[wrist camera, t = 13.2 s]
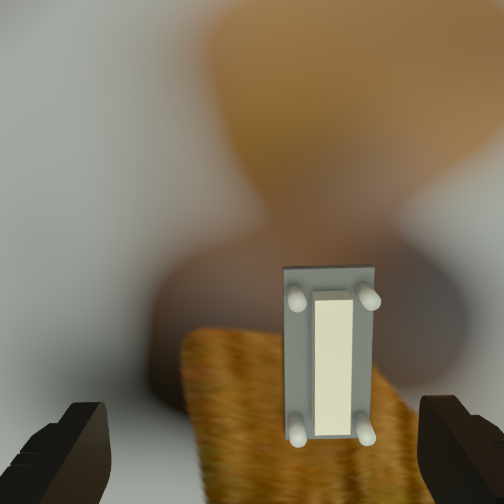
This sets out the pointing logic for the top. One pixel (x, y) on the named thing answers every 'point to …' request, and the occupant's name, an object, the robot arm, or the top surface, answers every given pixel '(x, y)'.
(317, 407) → the clay strip
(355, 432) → the grey pegged tray
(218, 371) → the top surface
